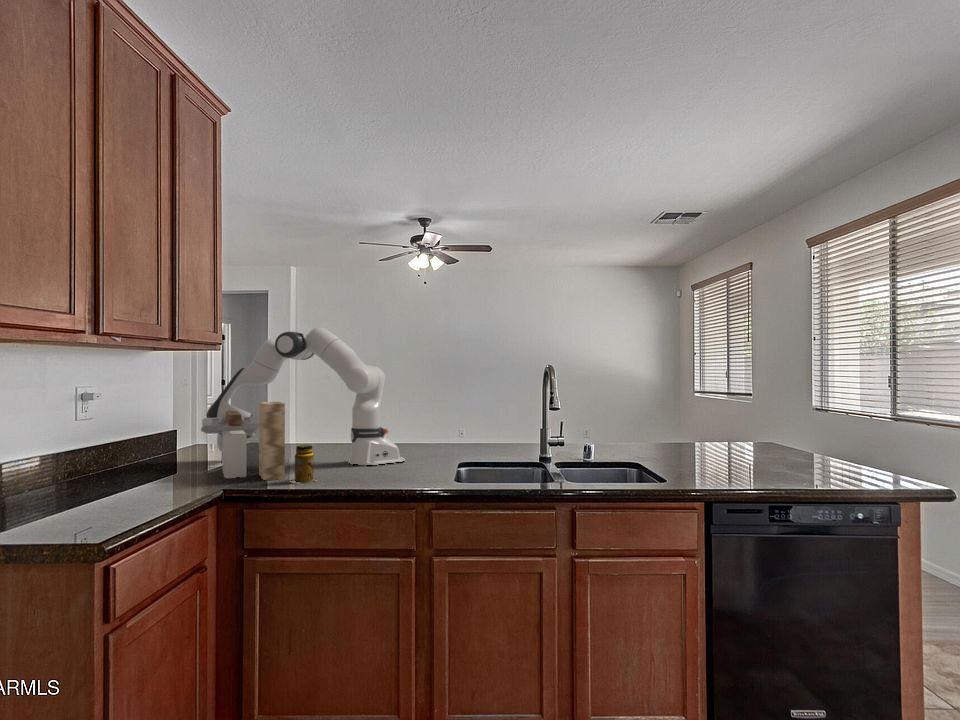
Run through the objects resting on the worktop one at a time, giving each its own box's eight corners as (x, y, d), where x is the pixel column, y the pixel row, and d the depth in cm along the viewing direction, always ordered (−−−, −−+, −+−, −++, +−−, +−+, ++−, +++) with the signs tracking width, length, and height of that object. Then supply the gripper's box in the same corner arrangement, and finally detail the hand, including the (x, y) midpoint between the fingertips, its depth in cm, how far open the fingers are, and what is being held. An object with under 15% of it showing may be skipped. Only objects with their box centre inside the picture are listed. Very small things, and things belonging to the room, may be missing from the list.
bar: (237, 421, 229) (237, 410, 229) (241, 426, 211) (241, 414, 211) (225, 422, 227) (225, 410, 227) (229, 427, 209) (229, 415, 209)
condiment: (318, 481, 203) (318, 445, 203) (294, 484, 197) (295, 448, 197) (307, 478, 208) (308, 443, 208) (284, 481, 202) (284, 446, 202)
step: (242, 470, 224) (242, 430, 224) (246, 476, 211) (246, 434, 211) (222, 471, 221) (222, 431, 221) (224, 478, 207) (224, 435, 208)
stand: (279, 472, 218) (279, 401, 219) (284, 479, 207) (284, 403, 207) (259, 474, 215) (259, 402, 215) (263, 480, 204) (263, 404, 204)
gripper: (200, 424, 232) (201, 408, 222) (256, 422, 241) (260, 407, 231) (200, 439, 229) (201, 424, 219) (257, 437, 238) (261, 422, 228)
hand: (232, 415), depth 225 cm, fingers closed on bar, 4 cm apart
